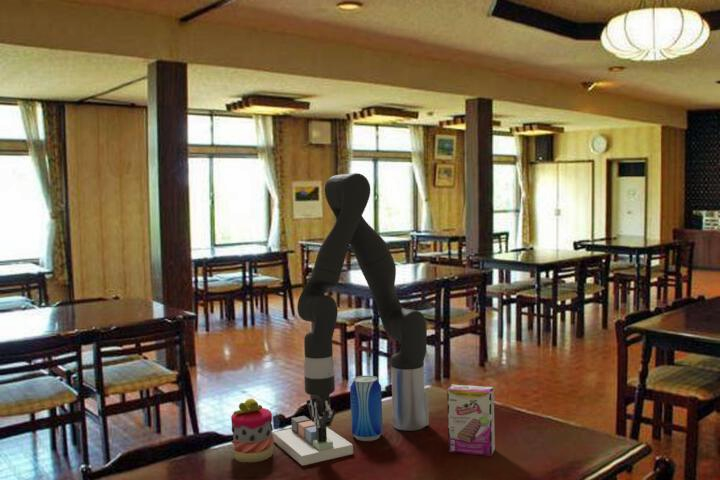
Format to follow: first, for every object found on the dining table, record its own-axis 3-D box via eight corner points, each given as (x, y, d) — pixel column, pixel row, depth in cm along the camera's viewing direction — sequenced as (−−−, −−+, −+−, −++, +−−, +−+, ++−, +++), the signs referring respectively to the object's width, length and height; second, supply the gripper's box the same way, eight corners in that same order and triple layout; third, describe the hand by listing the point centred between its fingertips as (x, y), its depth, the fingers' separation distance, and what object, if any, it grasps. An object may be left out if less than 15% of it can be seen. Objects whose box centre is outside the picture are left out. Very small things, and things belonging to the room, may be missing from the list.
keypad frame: (320, 431, 190) (320, 422, 190) (353, 453, 172) (352, 444, 172) (273, 441, 184) (273, 432, 183) (302, 465, 166) (301, 456, 166)
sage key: (327, 452, 174) (326, 437, 174) (333, 457, 171) (332, 441, 171) (313, 455, 172) (312, 439, 172) (319, 460, 169) (318, 444, 169)
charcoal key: (304, 429, 187) (304, 415, 187) (310, 433, 183) (309, 419, 183) (292, 432, 185) (291, 418, 185) (297, 436, 182) (296, 422, 181)
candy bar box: (447, 453, 170) (446, 389, 169) (451, 446, 175) (450, 383, 174) (492, 457, 167) (491, 391, 166) (495, 449, 172) (494, 386, 170)
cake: (228, 452, 177) (225, 395, 176) (267, 444, 181) (265, 389, 180) (237, 466, 167) (234, 406, 166) (279, 458, 171) (276, 399, 170)
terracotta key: (311, 435, 183) (311, 420, 182) (317, 439, 179) (317, 424, 179) (298, 437, 181) (298, 423, 181) (304, 442, 177) (303, 427, 177)
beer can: (380, 442, 179) (377, 383, 178) (349, 441, 181) (346, 382, 180) (385, 431, 188) (383, 374, 187) (355, 430, 189) (353, 374, 188)
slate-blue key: (319, 440, 178) (318, 425, 178) (325, 444, 175) (324, 429, 175) (305, 443, 177) (305, 428, 176) (311, 447, 173) (311, 432, 173)
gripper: (344, 377, 166) (346, 446, 167) (322, 366, 178) (324, 430, 179) (316, 381, 163) (318, 452, 164) (295, 370, 174) (297, 436, 175)
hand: (321, 441), depth 171 cm, fingers closed
